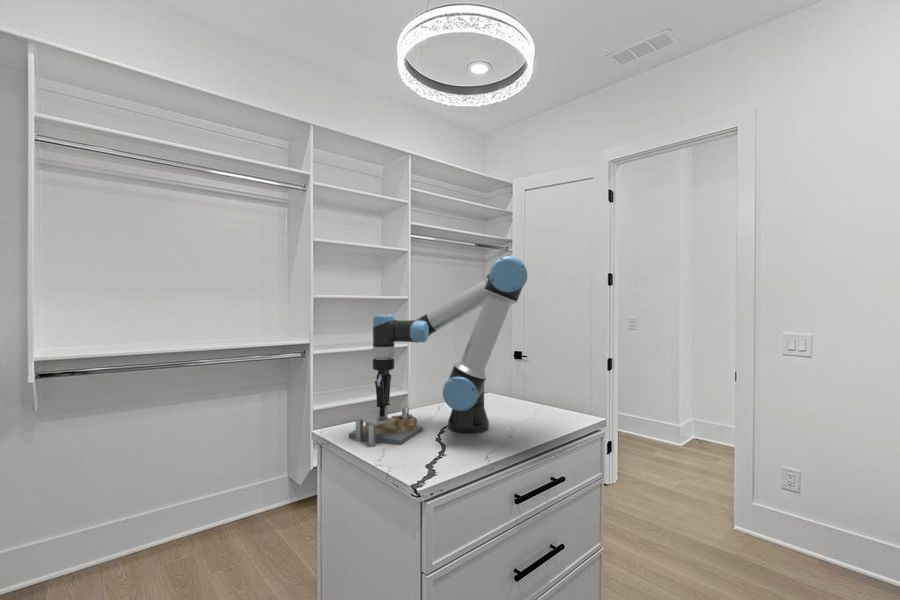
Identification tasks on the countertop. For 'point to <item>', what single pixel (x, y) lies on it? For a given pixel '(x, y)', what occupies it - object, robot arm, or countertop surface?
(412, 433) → the base plate
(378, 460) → the countertop surface
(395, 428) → the link
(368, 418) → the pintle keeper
